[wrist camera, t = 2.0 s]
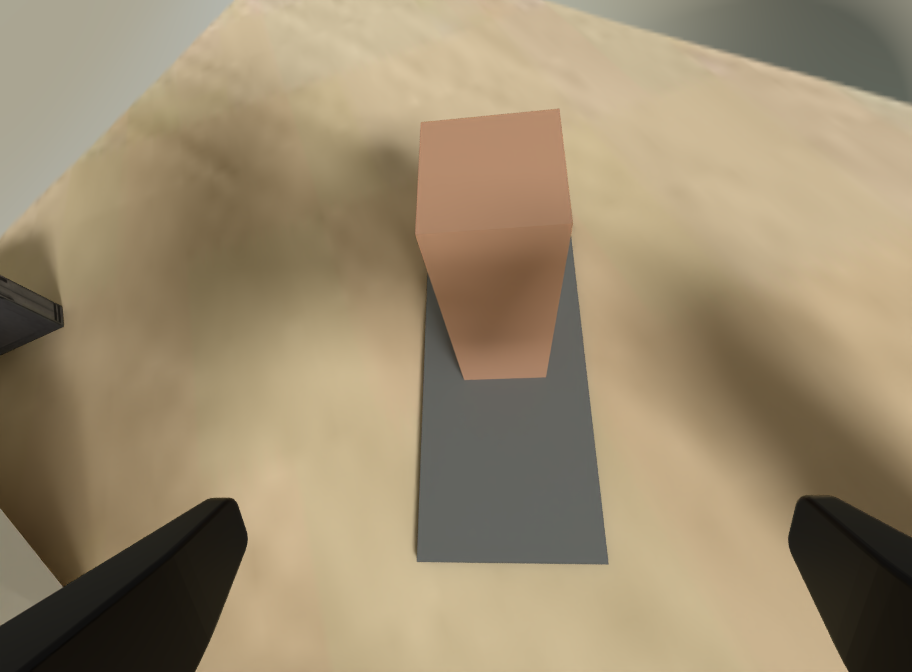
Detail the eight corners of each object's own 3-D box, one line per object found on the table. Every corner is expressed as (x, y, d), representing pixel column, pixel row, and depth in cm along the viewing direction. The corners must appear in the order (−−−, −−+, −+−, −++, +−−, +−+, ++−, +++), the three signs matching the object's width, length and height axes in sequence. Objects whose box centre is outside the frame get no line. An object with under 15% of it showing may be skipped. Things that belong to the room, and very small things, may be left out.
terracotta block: (546, 377, 22) (572, 223, 11) (464, 380, 23) (415, 234, 12) (540, 304, 24) (559, 108, 13) (464, 308, 24) (420, 122, 13)
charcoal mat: (606, 563, 19) (608, 564, 19) (418, 561, 20) (416, 561, 20) (564, 188, 27) (564, 183, 27) (431, 198, 28) (430, 194, 28)
